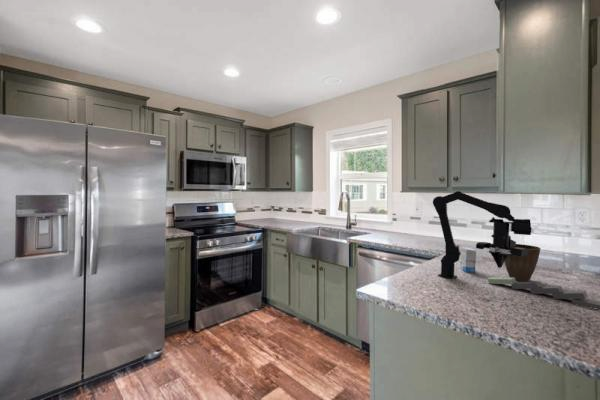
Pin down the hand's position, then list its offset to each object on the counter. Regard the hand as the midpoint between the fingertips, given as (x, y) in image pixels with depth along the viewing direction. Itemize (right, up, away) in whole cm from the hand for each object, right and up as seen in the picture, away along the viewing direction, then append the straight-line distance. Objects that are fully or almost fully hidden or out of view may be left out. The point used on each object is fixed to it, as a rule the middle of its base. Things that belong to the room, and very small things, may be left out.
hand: (499, 267), depth 126 cm
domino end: (+14, -8, -20) cm, 25 cm away
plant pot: (+16, -8, +9) cm, 20 cm away
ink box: (-1, -7, +23) cm, 24 cm away
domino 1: (+3, -7, -4) cm, 9 cm away
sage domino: (-2, -7, +3) cm, 7 cm away
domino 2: (+7, -7, -9) cm, 14 cm away
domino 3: (+11, -7, -15) cm, 20 cm away
